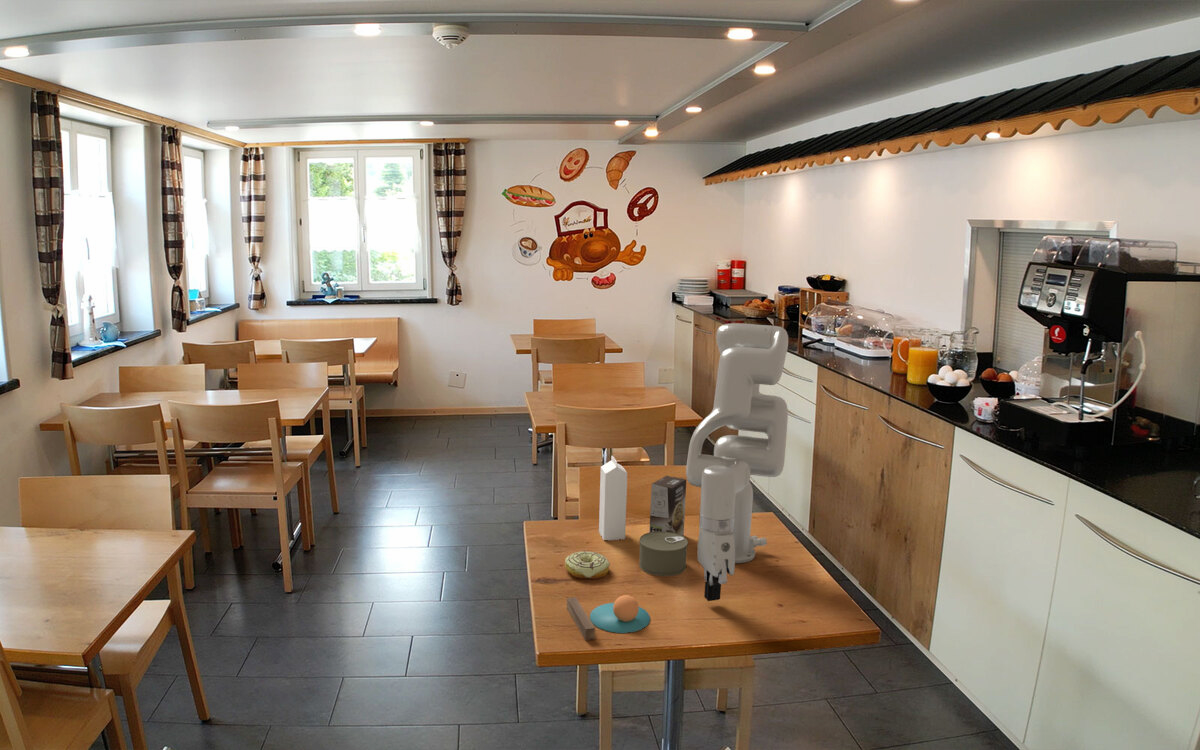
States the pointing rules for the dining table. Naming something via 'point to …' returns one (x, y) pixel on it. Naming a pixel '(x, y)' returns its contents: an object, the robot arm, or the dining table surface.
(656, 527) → the coffee box
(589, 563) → the decorated donut
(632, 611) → the ball
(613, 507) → the milk
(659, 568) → the can
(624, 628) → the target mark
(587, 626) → the rail
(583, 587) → the dining table surface
